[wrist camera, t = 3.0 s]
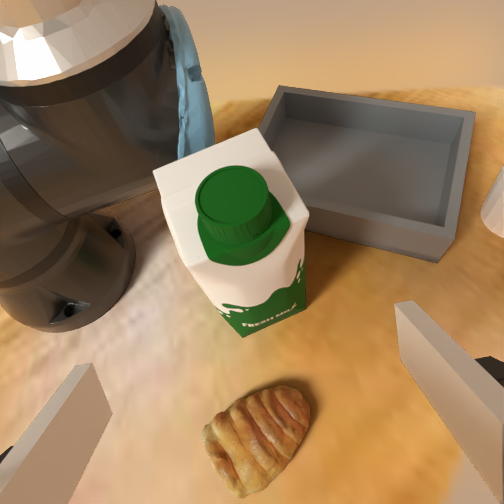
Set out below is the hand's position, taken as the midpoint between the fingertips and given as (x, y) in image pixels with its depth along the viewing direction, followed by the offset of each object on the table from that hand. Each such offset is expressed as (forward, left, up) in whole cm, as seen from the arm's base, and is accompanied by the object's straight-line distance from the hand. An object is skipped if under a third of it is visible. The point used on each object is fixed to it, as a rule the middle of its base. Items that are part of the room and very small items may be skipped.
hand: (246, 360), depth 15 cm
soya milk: (-5, +9, -20) cm, 22 cm away
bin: (0, +26, -20) cm, 32 cm away
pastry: (-1, -3, -20) cm, 20 cm away
